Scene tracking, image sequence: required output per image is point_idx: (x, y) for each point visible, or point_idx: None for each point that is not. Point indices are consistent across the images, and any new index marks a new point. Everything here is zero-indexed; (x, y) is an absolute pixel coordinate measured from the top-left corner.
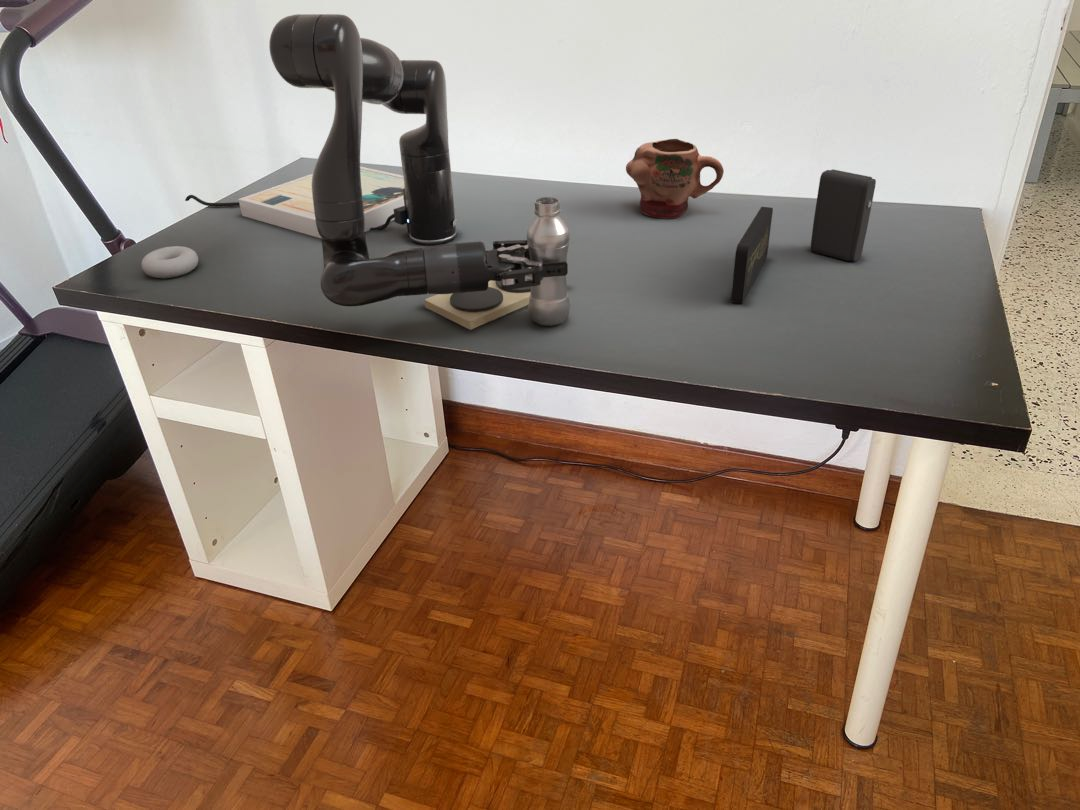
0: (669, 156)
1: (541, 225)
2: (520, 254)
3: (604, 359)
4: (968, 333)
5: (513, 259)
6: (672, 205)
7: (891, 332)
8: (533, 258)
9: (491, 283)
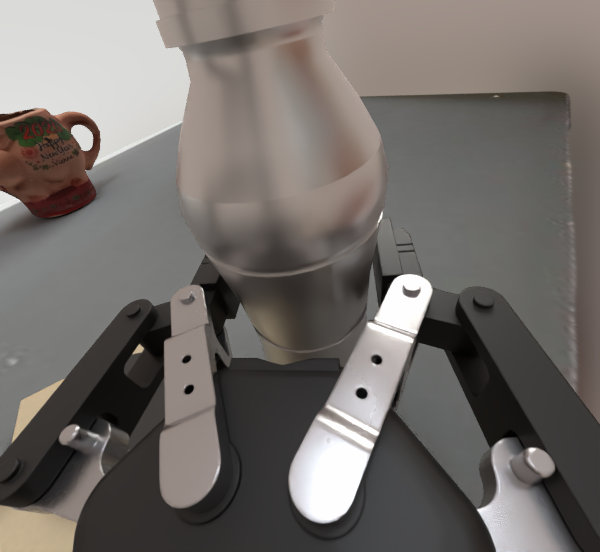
0: (25, 121)
1: (334, 97)
2: (218, 359)
3: (515, 309)
4: (412, 101)
5: (381, 399)
6: (83, 184)
7: (408, 119)
8: (334, 303)
9: (59, 522)
